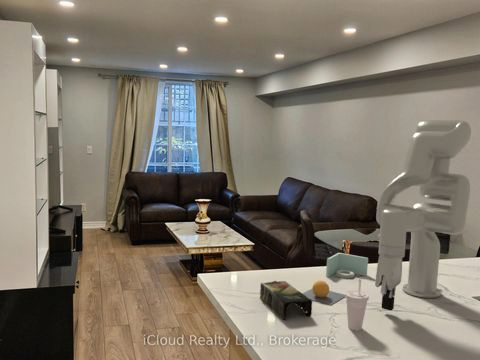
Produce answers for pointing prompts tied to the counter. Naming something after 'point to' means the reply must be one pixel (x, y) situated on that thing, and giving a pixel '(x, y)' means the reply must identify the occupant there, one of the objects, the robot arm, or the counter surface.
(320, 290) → the ball
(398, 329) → the counter surface
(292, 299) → the juice carton
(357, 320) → the smoothie
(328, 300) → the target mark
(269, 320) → the counter surface
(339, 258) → the right angle wall
